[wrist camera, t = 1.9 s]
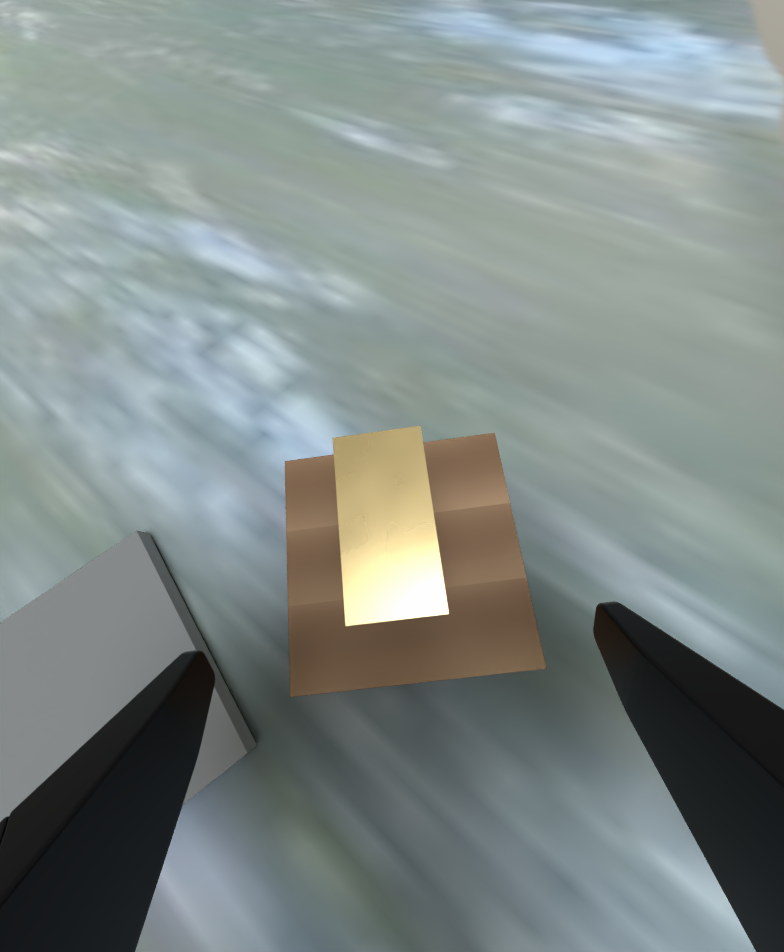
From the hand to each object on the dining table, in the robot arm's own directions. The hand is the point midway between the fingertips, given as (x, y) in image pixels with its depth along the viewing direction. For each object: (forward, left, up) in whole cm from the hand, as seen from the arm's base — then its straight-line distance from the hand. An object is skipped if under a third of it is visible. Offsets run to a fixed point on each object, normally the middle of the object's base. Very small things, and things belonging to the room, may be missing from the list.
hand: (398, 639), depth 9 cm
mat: (+4, +15, -10) cm, 19 cm away
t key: (+3, -1, -10) cm, 11 cm away
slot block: (+3, -1, -10) cm, 11 cm away
